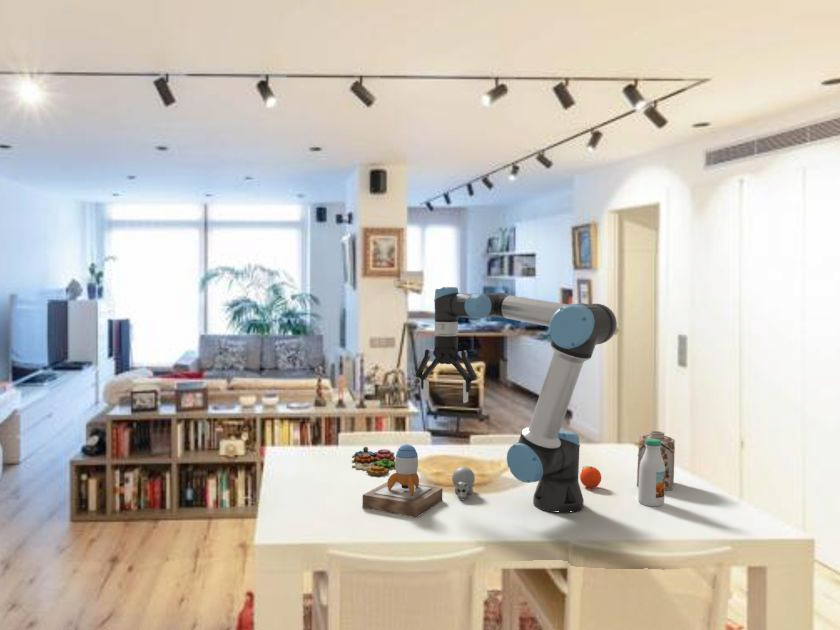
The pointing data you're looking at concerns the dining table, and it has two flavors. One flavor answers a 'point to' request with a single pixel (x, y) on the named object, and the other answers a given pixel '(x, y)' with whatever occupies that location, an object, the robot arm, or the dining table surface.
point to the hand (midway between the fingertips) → (445, 400)
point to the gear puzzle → (374, 461)
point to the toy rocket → (405, 469)
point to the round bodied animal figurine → (463, 482)
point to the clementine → (590, 477)
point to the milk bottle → (652, 475)
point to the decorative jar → (666, 453)
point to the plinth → (402, 499)
